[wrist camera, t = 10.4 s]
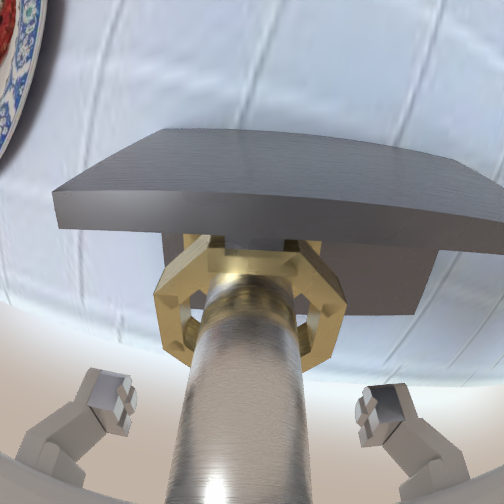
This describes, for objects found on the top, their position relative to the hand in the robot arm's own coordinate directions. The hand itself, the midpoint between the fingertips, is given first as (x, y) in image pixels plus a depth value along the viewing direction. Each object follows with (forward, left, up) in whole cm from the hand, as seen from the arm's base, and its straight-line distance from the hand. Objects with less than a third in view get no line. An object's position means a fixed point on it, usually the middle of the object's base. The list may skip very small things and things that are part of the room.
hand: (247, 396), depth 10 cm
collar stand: (-4, 0, -13) cm, 14 cm away
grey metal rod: (0, 0, -12) cm, 12 cm away
